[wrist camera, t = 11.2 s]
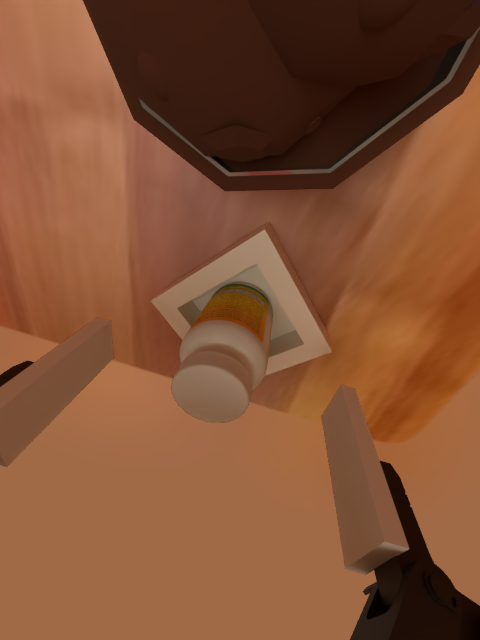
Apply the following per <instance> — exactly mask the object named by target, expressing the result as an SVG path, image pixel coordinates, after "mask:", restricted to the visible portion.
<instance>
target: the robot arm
mask: <svg viewBox="0 0 480 640" xmlns="http://www.w3.org/2000/svg"><path fill="white" fill-rule="evenodd" d="M113 358H114V354H113V341H112V329H111V320H107V319H103V318H100V317H97V318H96V319H94V320H93V321H91V322H90V323H89V324H87V325H86V326H85V327H83V328H82V329H80V330H79V331H78V332H76V333H75V334H73V335H72V336H71V337H69V338H68V339H66V340H65V341H64V342H62V343H61V344H60V345H58V346H57V347H55V348H54V349H53V350H52V351H50V352H48V353H47V354H46V355H45V356H43V357H41V358H40V359H39V360H37V361H36V362H31V361H26V362H23V363H21V364H18V365H16V366H13V367H12V368H10V369H9V370H7V371H6V372H4V373H3V374H1V375H0V465H2V466H6V467H8V465H10V464H11V463H12V461H13V460H14V459H15V458H16V457H17V456H18V455H19V454H20V453H21V452H22V451H23V450H24V449H25V448H26V447H27V446H28V445H29V444H30V443H31V442H32V441H33V440H34V439H35V438H36V437H37V436H38V435H39V434H40V433H41V432H42V431H43V430H44V429H45V428H46V427H47V426H48V425H49V424H50V423H51V421H52V420H53V419H54V418H55V417H56V416H57V415H58V414H59V413H60V412H61V411H62V410H63V409H64V408H65V407H66V406H67V405H68V404H69V403H70V402H71V401H72V400H73V399H74V398H75V397H76V396H77V395H78V394H79V393H80V392H81V391H82V390H83V389H84V388H85V387H86V386H87V385H88V384H89V383H90V382H91V381H92V380H93V378H94V377H95V376H96V375H97V374H98V373H99V372H100V371H101V370H102V369H103V368H104V367H105V366H106V365H107V364H108V363H109V362H110V361H111V360H112V359H113ZM321 417H322V423H323V430H324V435H325V442H326V448H327V455H328V462H329V468H330V475H331V481H332V487H333V494H334V500H335V506H336V513H337V520H338V526H339V532H340V538H341V545H342V551H343V558H344V565H345V569H348V570H351V571H355V572H358V573H361V574H365V575H366V574H368V573H370V572H371V571H373V570H374V571H375V575H376V579H377V582H376V583H374V584H372V585H370V586H368V587H366V589H365V590H364V591H363V592H364V594H365V595H367V594H369V593H370V595H369V597H368V599H367V602H366V604H365V606H364V608H363V611H362V613H361V615H360V618H359V620H358V622H357V625H356V627H355V629H354V631H353V634H352V636H351V639H350V640H480V606H479V605H478V604H476V603H475V602H473V601H472V600H470V599H469V598H467V597H466V596H464V595H463V594H461V593H460V592H459V591H457V590H456V589H455V587H454V585H453V584H452V582H451V580H450V579H449V578H448V577H447V575H446V574H445V573H444V572H443V571H442V570H441V569H440V568H439V567H438V566H437V565H435V564H434V562H433V560H432V558H431V556H430V554H429V551H428V549H427V546H426V543H425V541H424V538H423V536H422V533H421V531H420V528H419V526H418V523H417V520H416V518H415V515H414V513H413V510H412V508H411V507H410V502H409V500H408V497H407V495H406V494H405V489H404V487H403V484H402V482H401V479H400V477H399V476H398V474H397V473H396V471H395V470H394V468H393V467H392V465H391V464H390V463H386V462H383V461H379V458H378V455H377V452H376V449H375V446H374V443H373V440H372V437H371V434H370V431H369V428H368V425H367V422H366V419H365V416H364V414H363V411H362V408H361V405H360V402H359V399H358V396H357V393H356V390H355V388H352V387H348V386H345V385H341V386H340V387H339V389H338V390H337V392H336V394H335V395H334V397H333V398H332V400H331V402H330V403H329V405H328V407H327V408H326V410H325V411H324V413H323V415H322V416H321Z"/></svg>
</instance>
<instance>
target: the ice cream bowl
mask: <svg viewBox="0 0 480 640" xmlns="http://www.w3.org/2000/svg"><path fill="white" fill-rule="evenodd" d="M83 2H84V4H85V6H86V9H87V11H88V13H89V16H90V18H91V20H92V23H93V25H94V27H95V30H96V32H97V34H98V37H99V39H100V41H101V44H102V46H103V48H104V51H105V53H106V55H107V58H108V60H109V62H110V65H111V67H112V69H113V72H114V74H115V76H116V79H117V81H118V83H119V86H120V88H121V90H122V93H123V95H124V98H125V100H126V102H127V105H128V107H129V109H130V112H131V114H132V116H133V119H134V120H135V121H137V122H138V123H139V124H140V125H142V126H143V127H144V128H145V129H147V130H148V131H149V132H150V133H152V134H153V135H154V136H156V137H157V138H158V139H159V140H161V141H162V142H163V143H164V144H166V145H167V146H168V147H169V148H171V149H172V150H173V151H175V152H176V153H177V154H178V155H180V156H181V157H182V158H183V159H185V160H186V161H187V162H189V163H190V164H191V165H192V166H194V167H195V168H196V169H197V170H199V171H200V172H201V173H202V174H204V175H205V176H206V177H208V178H209V179H210V180H211V181H213V182H214V183H215V184H216V185H218V186H219V187H220V188H221V189H223V190H224V191H250V190H292V189H333V188H334V187H336V186H337V185H338V184H340V183H341V182H342V181H344V180H345V179H347V178H348V177H349V176H351V175H352V174H353V173H355V172H356V171H358V170H359V169H360V168H362V167H363V166H364V165H366V164H367V163H368V162H370V161H371V160H373V159H374V158H375V157H377V156H378V155H379V154H381V153H382V152H384V151H385V150H386V149H388V148H389V147H390V146H392V145H393V144H394V143H396V142H397V141H399V140H400V139H401V138H403V137H404V136H405V135H407V134H408V133H410V132H411V131H412V130H414V129H415V128H416V127H418V126H419V125H420V124H422V123H423V122H425V121H426V120H427V119H429V118H430V117H431V116H433V115H434V114H436V113H437V112H438V111H440V110H441V109H442V108H444V107H445V106H446V105H448V104H449V103H451V102H452V101H453V100H455V99H456V98H457V97H459V96H460V95H462V94H463V92H464V90H465V89H466V87H467V85H468V83H469V82H470V80H471V78H472V77H473V75H474V73H475V71H476V70H477V68H478V66H479V65H480V0H83Z"/></svg>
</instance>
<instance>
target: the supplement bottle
mask: <svg viewBox="0 0 480 640" xmlns="http://www.w3.org/2000/svg"><path fill="white" fill-rule="evenodd" d="M272 322H273V309H272V305H271V302H270V300H269V299H268V297H267V296H266V294H265V293H263V292H262V291H261V290H260V289H258V288H257V287H255V286H253V285H251V284H248V283H243V282H233V283H229V284H226V285H224V286H222V287H220V288H219V289H218V290H217V291H216V292H215V293H214V294H213V296H212V297H211V299H210V300H209V302H208V303H207V304H206V306H205V307H204V309H203V310H202V312H201V313H200V315H199V316H198V317H197V319H196V320H195V322H194V323H193V325H192V326H191V328H190V329H189V331H188V332H187V334H186V335H185V337H184V339H183V341H182V343H181V346H180V354H179V356H180V363H181V364H180V366H179V368H178V370H177V372H176V374H175V376H174V378H173V381H172V386H171V389H172V394H173V397H174V399H175V401H176V402H177V404H178V405H179V406H180V407H181V408H182V409H183V410H184V411H185V412H187V413H188V414H190V415H192V416H193V417H195V418H197V419H200V420H203V421H207V422H212V423H225V422H230V421H233V420H235V419H237V418H239V417H240V416H242V415H243V414H244V413H245V411H246V409H247V407H248V405H249V400H250V395H251V392H252V390H253V389H255V388H256V387H257V386H258V385H259V384H260V383H261V381H262V380H263V378H264V376H265V374H266V370H267V365H268V357H269V348H270V339H271V330H272Z"/></svg>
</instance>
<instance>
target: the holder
mask: <svg viewBox="0 0 480 640" xmlns="http://www.w3.org/2000/svg"><path fill="white" fill-rule="evenodd" d="M233 282H243V283H248V284H251V285H253V286H255V287H257V288H258V289H260V290H261V291H262V292H263V293H265V294H266V296H267V297H268V299H269V300H270V302H271V305H272V309H273V322H272V330H271V339H270V348H269V357H268V365H267V370H266V374H265V376H266V375H269V374H271V373H274V372H277V371H280V370H283V369H286V368H288V367H291V366H294V365H297V364H300V363H303V362H305V361H308V360H311V359H314V358H317V357H320V356H323V355H325V354H328V353H331V352H332V349H331V345H330V341H329V338H328V334H327V330H326V328H325V326H324V324H323V323H322V321H321V319H320V317H319V315H318V313H317V311H316V310H315V308H314V306H313V304H312V302H311V300H310V298H309V297H308V295H307V293H306V291H305V289H304V287H303V285H302V283H301V282H300V280H299V278H298V276H297V274H296V272H295V270H294V269H293V267H292V265H291V263H290V261H289V259H288V257H287V256H286V254H285V252H284V250H283V248H282V246H281V244H280V243H279V241H278V239H277V237H276V235H275V233H274V231H273V229H272V228H271V226H270V224H269V222H268V223H266V224H265V225H263V226H262V227H260V228H258V229H257V230H255V231H254V232H252V233H251V234H249V235H247V236H246V237H244V238H243V239H241V240H240V241H238V242H236V243H235V244H233V245H232V246H230V247H229V248H227V249H225V250H224V251H222V252H221V253H219V254H218V255H216V256H214V257H213V258H211V259H210V260H208V261H206V262H205V263H203V264H202V265H200V266H199V267H197V268H195V269H194V270H192V271H191V272H189V273H188V274H186V275H184V276H183V277H181V278H180V279H178V280H177V281H175V282H173V283H172V284H170V285H169V286H167V287H166V288H165V289H164V290H163V291H161V292H160V293H159V294H158V295H157V296H156V297H154V298H153V299H152V300H151V302H152V304H153V305H154V306H155V307H156V309H157V310H158V311H159V312H160V313H161V315H162V316H163V317H164V318H165V320H166V321H167V322H168V323H169V324H170V326H171V327H172V328H173V329H174V331H175V332H176V333H177V334H178V336H179V337H180V338H181V339H182V340H183V339H184V337H185V335H186V334H187V332H188V331H189V329H190V328H191V326H192V325H193V323H194V322H195V320H196V319H197V317H198V316H199V315H200V313H201V312H202V310H203V309H204V307H205V306H206V304H207V303H208V302H209V300H210V299H211V297H212V296H213V294H214V293H215V292H216V291H217V290H218V289H219V288H220V287H222V286H224V285H226V284H229V283H233Z"/></svg>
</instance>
